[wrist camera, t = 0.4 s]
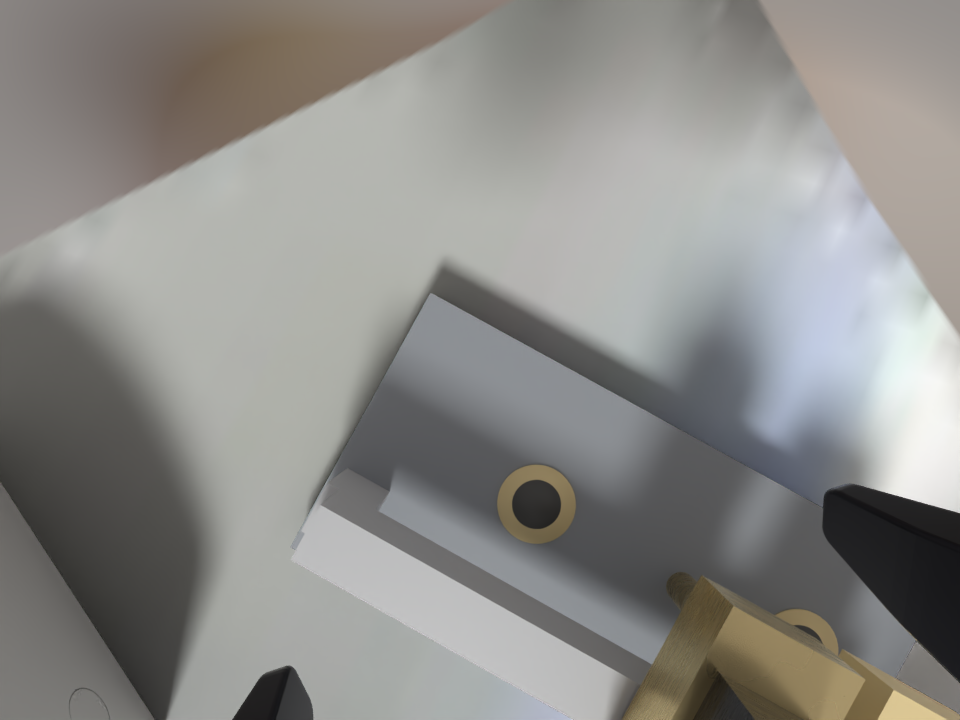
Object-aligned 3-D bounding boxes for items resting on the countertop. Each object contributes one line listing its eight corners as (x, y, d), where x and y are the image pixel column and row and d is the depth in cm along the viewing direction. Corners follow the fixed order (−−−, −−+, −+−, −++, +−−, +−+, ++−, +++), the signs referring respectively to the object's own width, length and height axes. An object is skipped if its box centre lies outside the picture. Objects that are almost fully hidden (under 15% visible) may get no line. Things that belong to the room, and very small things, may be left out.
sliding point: (744, 578, 19) (978, 772, 10) (665, 723, 19) (827, 1048, 10) (655, 529, 19) (806, 677, 10) (576, 672, 19) (655, 950, 10)
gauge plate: (917, 562, 21) (1153, 670, 14) (784, 805, 21) (947, 1047, 14) (434, 297, 22) (406, 261, 14) (303, 534, 22) (206, 624, 14)
